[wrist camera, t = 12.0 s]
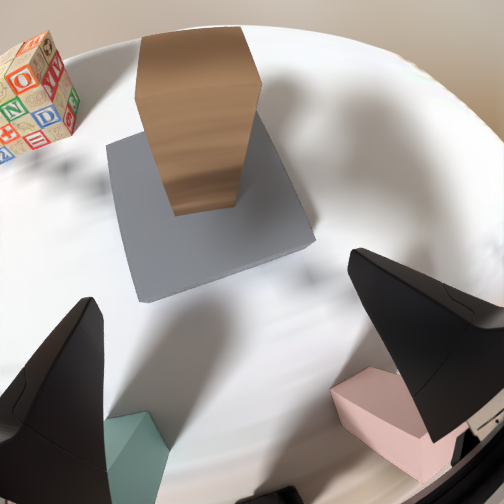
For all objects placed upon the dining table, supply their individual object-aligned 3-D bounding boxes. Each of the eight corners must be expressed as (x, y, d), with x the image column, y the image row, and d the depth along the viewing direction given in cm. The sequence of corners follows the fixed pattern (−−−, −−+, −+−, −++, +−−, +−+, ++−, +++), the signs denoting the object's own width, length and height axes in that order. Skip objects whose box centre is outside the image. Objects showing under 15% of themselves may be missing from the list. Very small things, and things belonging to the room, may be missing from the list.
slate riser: (304, 248, 24) (316, 240, 21) (148, 303, 21) (139, 301, 18) (248, 123, 26) (252, 104, 23) (115, 161, 23) (105, 145, 20)
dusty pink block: (379, 402, 22) (470, 440, 9) (341, 425, 21) (423, 483, 9) (369, 366, 22) (469, 391, 10) (329, 388, 21) (419, 439, 9)
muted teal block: (169, 451, 18) (143, 544, 6) (128, 458, 17) (82, 538, 5) (147, 410, 19) (95, 489, 7) (105, 419, 18) (37, 485, 6)
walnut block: (234, 207, 20) (262, 83, 8) (175, 216, 20) (134, 98, 8) (224, 157, 21) (240, 26, 9) (169, 165, 20) (141, 37, 8)
